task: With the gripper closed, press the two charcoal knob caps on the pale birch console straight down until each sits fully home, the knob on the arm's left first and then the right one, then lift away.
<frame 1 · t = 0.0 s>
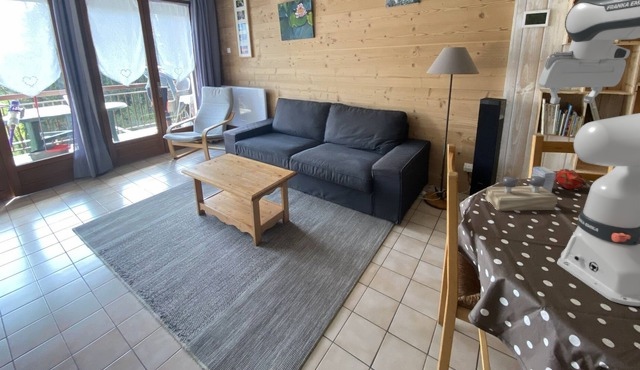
hand: (570, 103, 91), 39 cm above the table, tool pointing down, fingers open, 8 cm apart
medicine box: (539, 190, 131), on the table
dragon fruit: (567, 188, 132), on the table
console: (518, 204, 119), on the table
knob left: (508, 188, 117), point 7 cm above the table, slide at 0.0 cm
knob right: (535, 187, 116), point 7 cm above the table, slide at 0.0 cm
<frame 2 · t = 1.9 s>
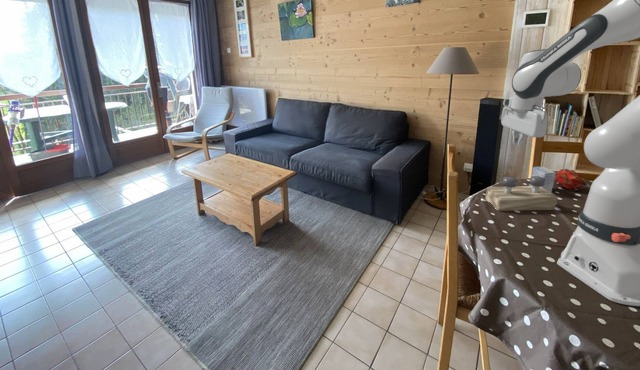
hand: (517, 144, 110), 23 cm above the table, tool pointing down, fingers closed
nothing on the table moved.
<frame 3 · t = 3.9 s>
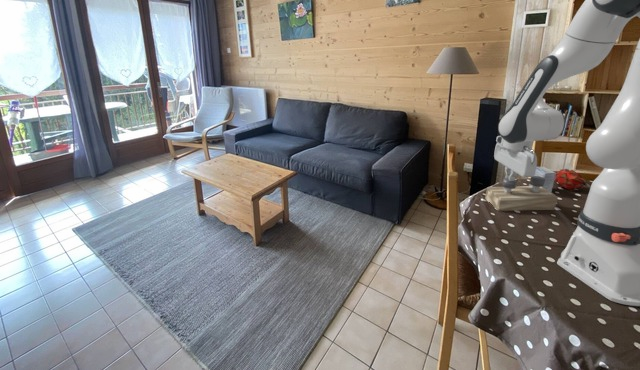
hand: (509, 179, 116), 10 cm above the table, tool pointing down, fingers closed
knob left: (508, 189, 117), point 6 cm above the table, slide at 0.5 cm, touching gripper
everything else where it was.
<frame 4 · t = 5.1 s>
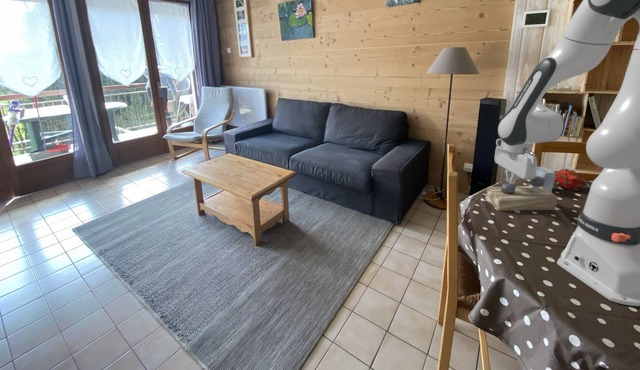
hand: (510, 182, 115), 9 cm above the table, tool pointing down, fingers closed
knob left: (506, 194, 118), point 4 cm above the table, slide at 2.6 cm
everything else where it was.
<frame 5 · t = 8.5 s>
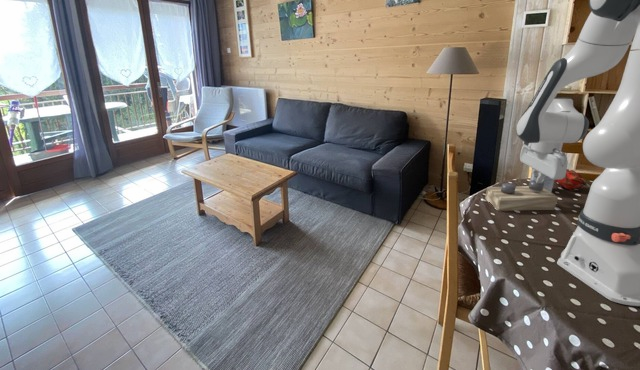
hand: (536, 181, 116), 9 cm above the table, tool pointing down, fingers closed
knob right: (534, 191, 117), point 5 cm above the table, slide at 1.6 cm, touching gripper
everything else where it was.
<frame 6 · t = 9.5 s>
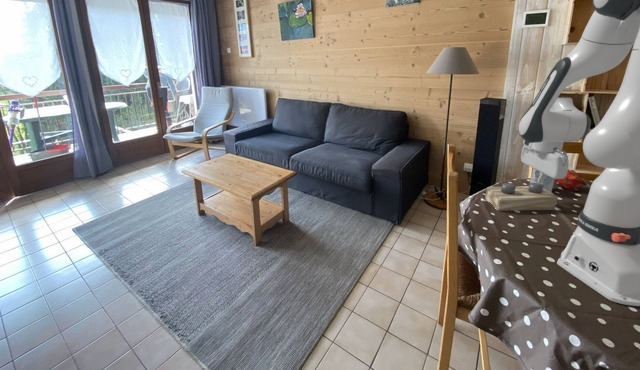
hand: (538, 182, 115), 9 cm above the table, tool pointing down, fingers closed
knob right: (534, 193, 117), point 4 cm above the table, slide at 2.6 cm
everything else where it was.
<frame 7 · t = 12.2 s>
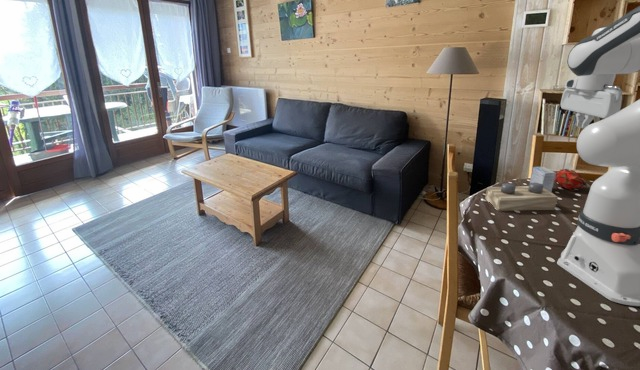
hand: (581, 127, 105), 29 cm above the table, tool pointing down, fingers closed
nothing on the table moved.
at the end: knob left slide at 2.6 cm; knob right slide at 2.6 cm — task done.
